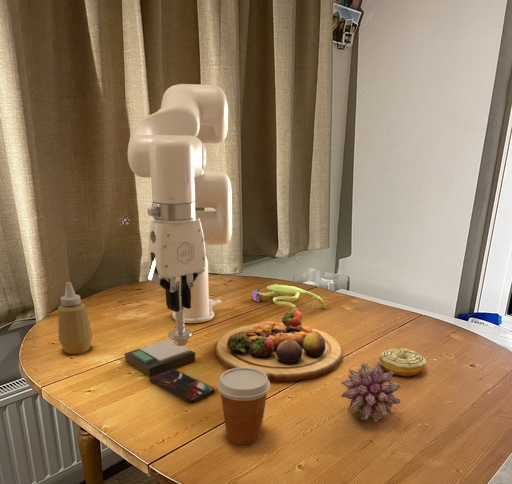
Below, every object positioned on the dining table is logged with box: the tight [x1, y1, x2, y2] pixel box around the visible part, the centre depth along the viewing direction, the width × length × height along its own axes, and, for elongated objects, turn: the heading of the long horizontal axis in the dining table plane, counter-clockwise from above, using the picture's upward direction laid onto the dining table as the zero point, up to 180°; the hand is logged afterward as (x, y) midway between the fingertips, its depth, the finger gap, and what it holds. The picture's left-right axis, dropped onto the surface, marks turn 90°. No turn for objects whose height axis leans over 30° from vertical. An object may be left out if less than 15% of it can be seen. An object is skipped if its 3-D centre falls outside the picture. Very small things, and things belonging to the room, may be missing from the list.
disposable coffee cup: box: [216, 367, 271, 445], centre depth 91 cm, size 10×10×12 cm
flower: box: [340, 361, 403, 423], centre depth 98 cm, size 12×12×12 cm
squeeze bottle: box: [57, 281, 93, 355], centre depth 125 cm, size 8×8×18 cm
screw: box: [167, 281, 194, 347], centre depth 96 cm, size 13×5×5 cm
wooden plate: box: [215, 309, 343, 382], centre depth 126 cm, size 32×32×8 cm
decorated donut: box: [379, 347, 427, 377], centre depth 120 cm, size 10×11×4 cm
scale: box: [124, 338, 196, 378], centre depth 122 cm, size 13×11×3 cm
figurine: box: [251, 283, 328, 310], centre depth 163 cm, size 18×27×6 cm
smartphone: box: [149, 368, 216, 403], centre depth 111 cm, size 7×1×15 cm
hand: (179, 307), depth 96 cm, fingers closed on screw, 2 cm apart
